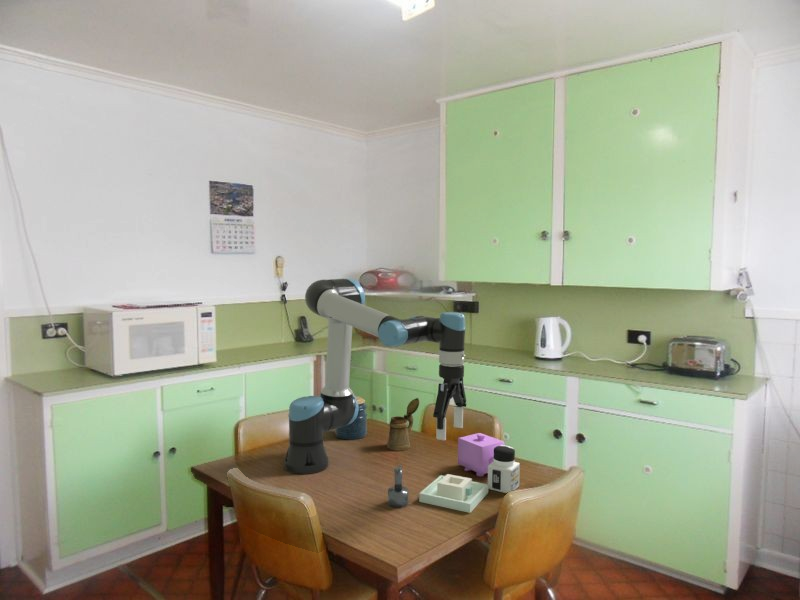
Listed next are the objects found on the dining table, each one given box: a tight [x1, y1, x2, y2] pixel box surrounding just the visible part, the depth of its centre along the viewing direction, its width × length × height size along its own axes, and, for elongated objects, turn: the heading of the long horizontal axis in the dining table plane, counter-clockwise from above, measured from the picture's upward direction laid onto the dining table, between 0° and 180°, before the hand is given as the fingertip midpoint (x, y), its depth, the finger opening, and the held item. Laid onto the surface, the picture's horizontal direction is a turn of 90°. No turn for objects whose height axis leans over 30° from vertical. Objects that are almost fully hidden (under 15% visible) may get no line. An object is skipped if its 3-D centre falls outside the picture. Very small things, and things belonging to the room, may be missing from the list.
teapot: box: [457, 432, 505, 478], centre depth 195 cm, size 20×10×12 cm, turn 35°
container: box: [487, 444, 521, 494], centre depth 181 cm, size 8×8×13 cm
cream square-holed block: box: [437, 473, 473, 501], centre depth 174 cm, size 9×8×4 cm
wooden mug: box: [386, 397, 420, 452], centre depth 221 cm, size 9×14×18 cm, turn 122°
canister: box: [334, 392, 368, 440], centre depth 234 cm, size 13×13×18 cm
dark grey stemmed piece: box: [387, 465, 409, 509], centre depth 169 cm, size 6×6×11 cm
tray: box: [418, 474, 489, 514], centre depth 174 cm, size 16×16×3 cm
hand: (449, 433), depth 175 cm, fingers open, 13 cm apart
